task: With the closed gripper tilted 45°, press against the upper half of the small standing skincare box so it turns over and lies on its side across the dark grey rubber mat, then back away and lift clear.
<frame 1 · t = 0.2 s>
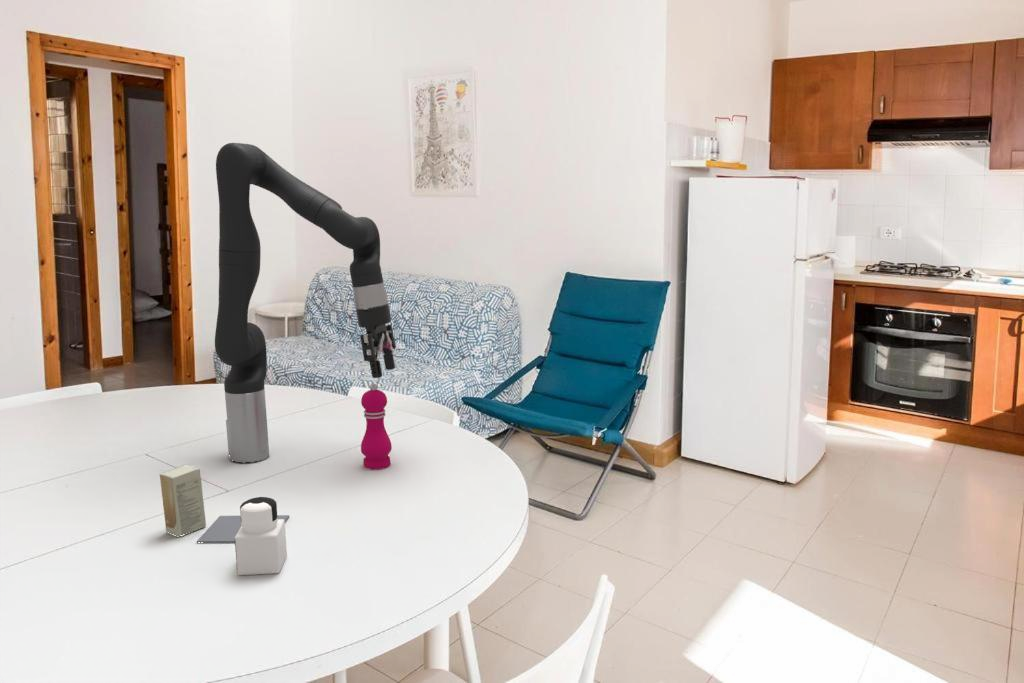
hand: (384, 373, 189), 23 cm above the table, tool pointing down, fingers open, 8 cm apart
skincare box: (185, 531, 158), on the table
medicine bottle: (263, 566, 143), on the table
pepper mill: (377, 466, 194), on the table
grey rubber mat: (244, 529, 158), on the table
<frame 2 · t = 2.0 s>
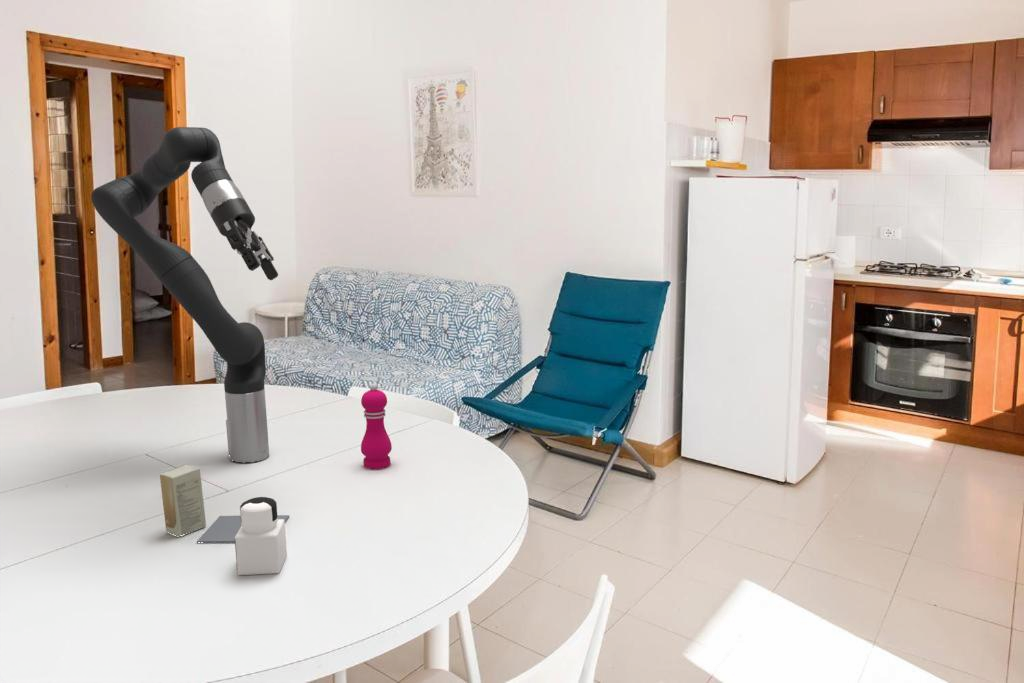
hand: (264, 273, 162), 48 cm above the table, tool tilted 40°, fingers open, 8 cm apart
nothing on the table moved.
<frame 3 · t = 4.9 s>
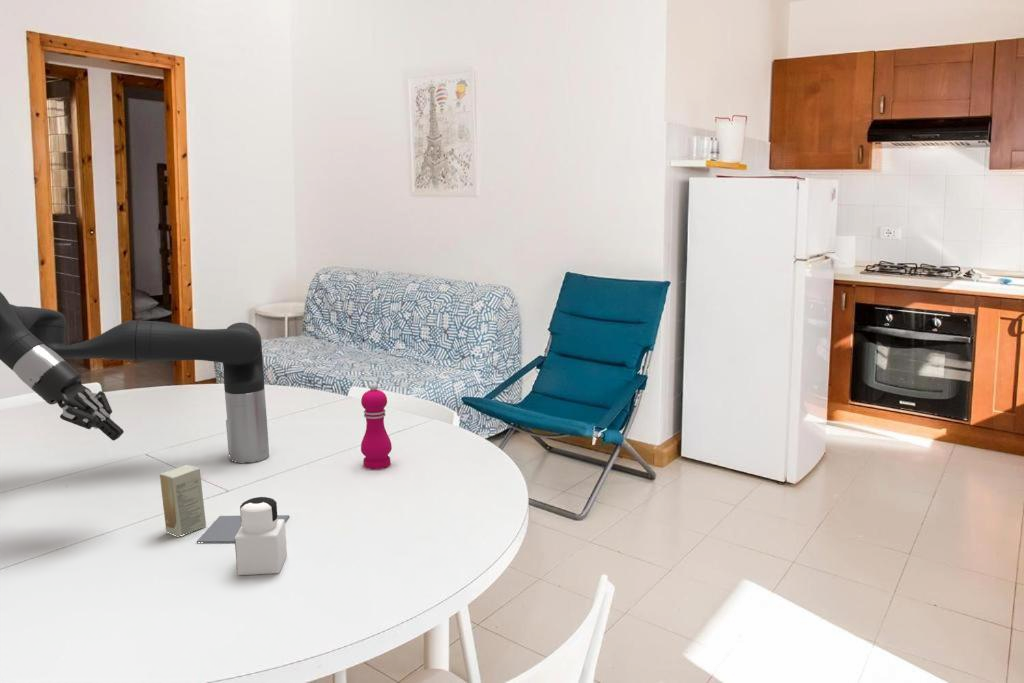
hand: (119, 436, 154), 19 cm above the table, tool tilted 45°, fingers closed
nothing on the table moved.
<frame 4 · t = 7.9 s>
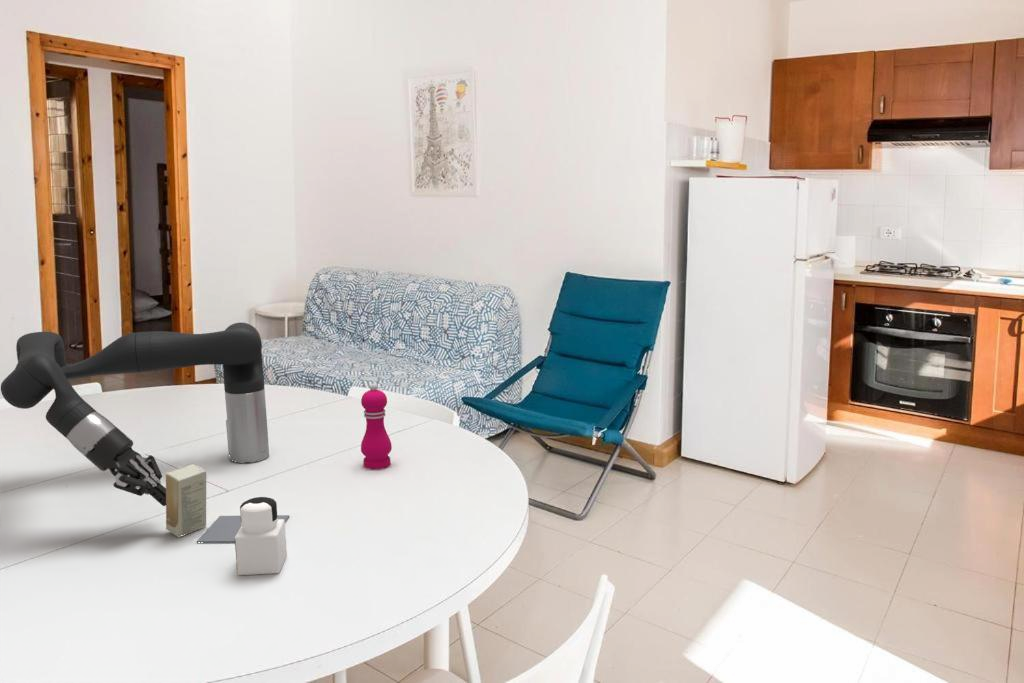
hand: (169, 501, 156), 6 cm above the table, tool tilted 45°, fingers closed
skincare box: (185, 529, 158), on the table, touching gripper
everything else where it was.
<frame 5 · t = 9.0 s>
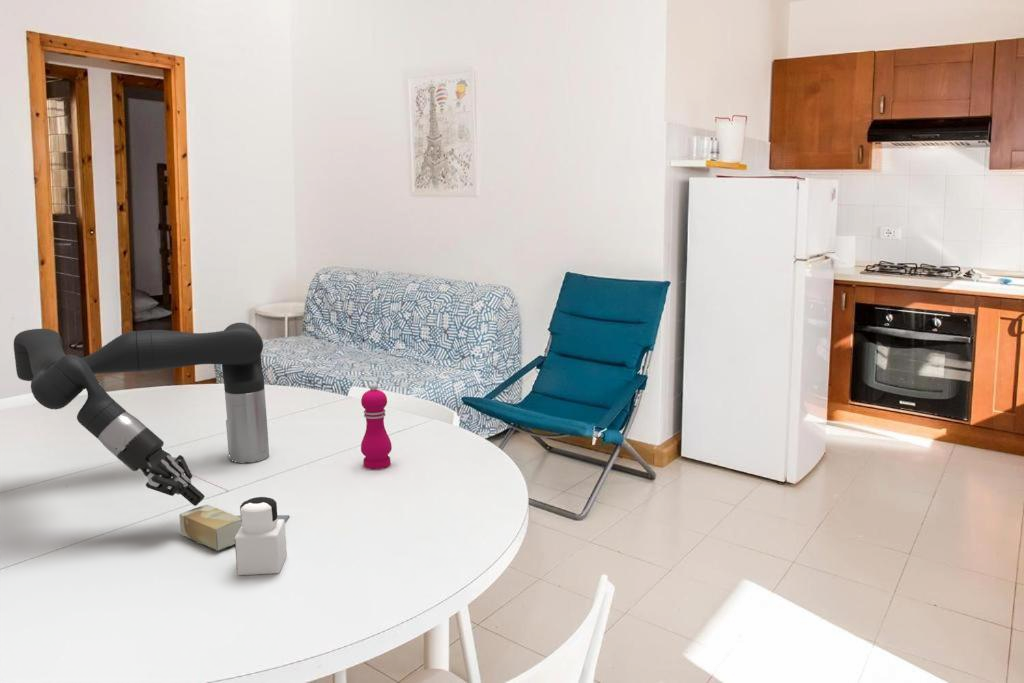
hand: (200, 501, 157), 6 cm above the table, tool tilted 45°, fingers closed
skincare box: (192, 519, 157), point 3 cm above the table, touching grey rubber mat
everything else where it was.
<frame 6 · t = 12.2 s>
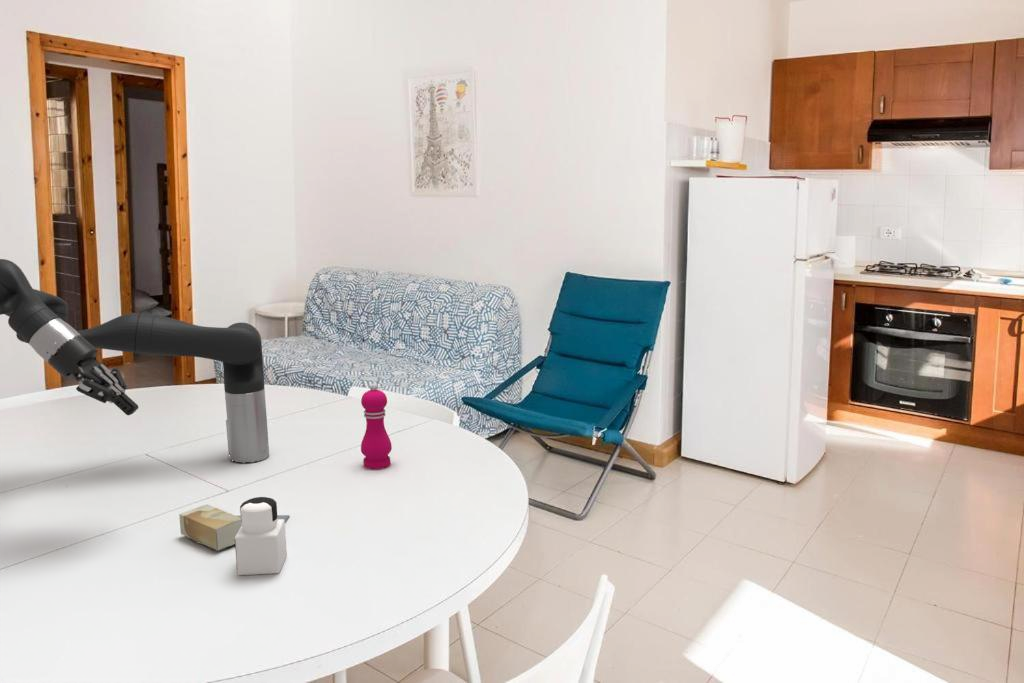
hand: (133, 411, 154), 24 cm above the table, tool tilted 45°, fingers closed
nothing on the table moved.
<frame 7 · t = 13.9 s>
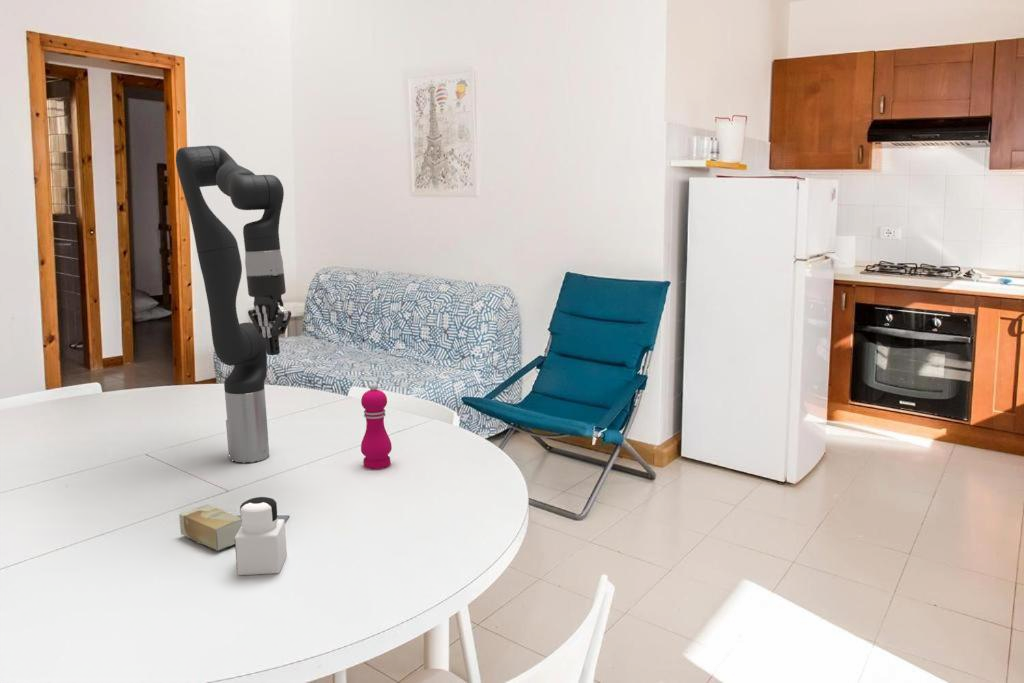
hand: (273, 354, 172), 31 cm above the table, tool pointing down, fingers closed
nothing on the table moved.
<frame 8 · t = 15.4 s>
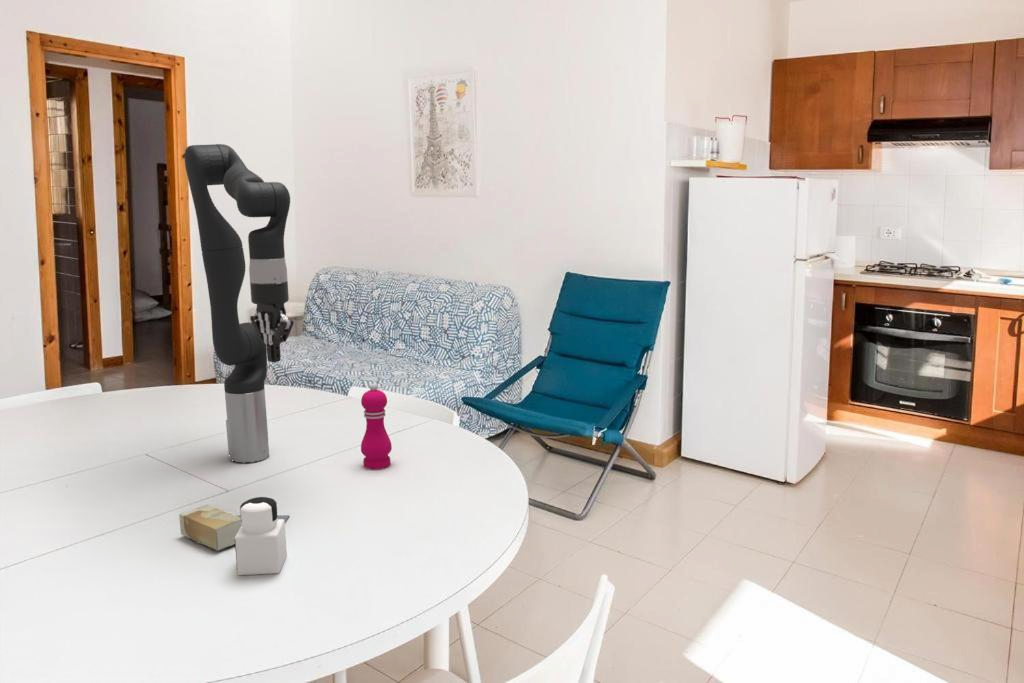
hand: (274, 361, 172), 29 cm above the table, tool pointing down, fingers closed
nothing on the table moved.
at the end: skincare box tilted 90°; skincare box touching grey rubber mat; skincare box moved 3.2 cm from its start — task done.
